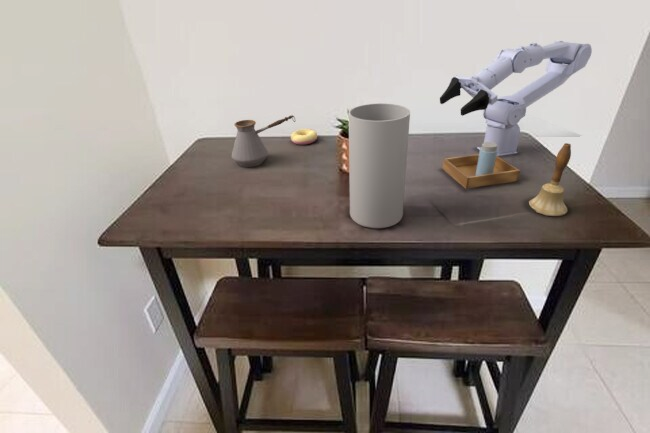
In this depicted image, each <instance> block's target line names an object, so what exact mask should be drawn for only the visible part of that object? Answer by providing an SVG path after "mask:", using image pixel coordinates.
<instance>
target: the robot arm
mask: <svg viewBox="0 0 650 433" xmlns="http://www.w3.org/2000/svg"><path fill="white" fill-rule="evenodd" d="M592 49H593V48H592V45H591V44H590V43H580V42H579V43H578V42H569V41H563V40H558V41H554V42H552V43H549V44H546V45H543V46H542V45H541V44H538V43H537V42H530V43H529V45H527V46H523V45H519V46H517V48H515V49H514V48H505V49H501V50H500V51H499V52H498V54H497V56H496V57H495V59H494V60H492V62H491V63H490V64H489V65H487V66H486V67H484V68H483V69H482V70H481V71H479V72H477V73H476V74H472V75H471V77H468V76H459V75H455V76H453V77H452V78H451V80H450V82H449V84H448V86H447V88H446V90H445V91H444V92H443V93H442V95H441V96H440V97H439V104H441V105H444V104H446V103H447V102H449V101H450V100H451V99H454V98H456V97H460V96H461V89H462V90H464V91H465V92H466V93H467V94H468V95H469V96H470V97H472V98H471V99H470V100H469V101H468V102H467V103H466V104H464V105H463V106H462V107H461V108H460V116H462V117H463V116H466V115H468V114H470V113H473V112H477V111H482V116H483V118H484V119H485V123H486V127H485V128H486V129H485V134H484V139H483V143H484V142H493V143H496V144H497V150H498V151H497V156H498V157H500V156H505V155H506V156H507V155H514V154H518V153H519V152H518V151H517V149H518V146H519V141H520V136H521V128H520V126H519V124H518V123H519V122H520V121H521V120H522V119H523V118H524V117H526V113H527V108H528V107H530V106H531V105H533V104H534V103H536V102H537V101H539V100H540V99H541V98H543V97H545V96H547V95H548V94H550V93H551V92H553V91H554V90H556V89H558V88H559V87H561V86H562V85H564V84H565V83H566V82H567V80H569V79H570V77H572V75H575V74H576V73H578V72H579V71H581V70H583V69H584V68H585V67H586V65H587V64H588V62H589V60H590V58H591V56H592V51H593V50H592ZM543 60H547V63H546V66H545V71H546V73H545V74H543V75H542V76H540V77H538V78H537V79H534V81H532V82H531V83H529V84H528V85H526V86H524V87H522V88H521V89H519V90H517V91H516V92H514V93H513V94H511V95H502V96H499V97H498V94H496V93H495V92H493V91H492V90H493V89H494V88H495V87H496V86H498V85H499V84H500V83H502V82H504V81H505V80H506V79H507V78H508V77H510V76H511V75H512V74H522V73H523V72H524V71H525V70H526V69H528V68H531V67H532V68H533V67H536V66H538V65H540V64H541V63H542V62H543ZM480 148H481V147H480V146H477V147H476V149H478V150H479V151H480Z"/></svg>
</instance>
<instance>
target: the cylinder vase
mask: <svg viewBox="0 0 650 433" xmlns="http://www.w3.org/2000/svg"><path fill="white" fill-rule="evenodd" d="M410 119H411V111H410V109H409V108H408V107H406V106H403V105H399V104H394V103H367V104H361V105H358V106H354V107H351V109H349V111H348V170H349V171H348V172H349V176H348V177H349V178H348V179H349V180H348V182H349V216H350V218H351V219H352V221H353V222H354V223H356V224H357V225H359V226H361V227H365V228H369V229H386V228H390V227H392V226H395V225H397V224H398V223H400V221H401V220H402V218H403V216H404V205H405V192H406V191H405V189H406V176H407V162H408V150H409V148H408V147H409V134H410V133H409V132H410Z"/></svg>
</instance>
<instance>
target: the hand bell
mask: <svg viewBox="0 0 650 433" xmlns="http://www.w3.org/2000/svg"><path fill="white" fill-rule="evenodd" d="M571 156H572V145H571V143H563V146H562V147H561V148H560V149H559V151H558V152H557V154H556V158H555V161H554V162H555V164H554V165H555V169H554V172H553V175H552V178H551V180H550V183H549V182H548V183H544V184H543V185H542V186H541V189H540V191H539V192H538V194H537V195H536V196H535V197H533V198H531V199H530V200H529V201H528V203H529V206H530V208H532V209H533V212H535V213H538V214H540V215H543V216H547V217H562V216H565V215H566V214H567V213H568V207H567V206H566V204H565V202H564V193H565V188H564V187H563V186H562V185H560V182H561V179H562V176H563V172H564V171H565V169H566V168H567V166H568V164H569V162H570V160H571Z"/></svg>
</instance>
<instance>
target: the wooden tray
mask: <svg viewBox="0 0 650 433" xmlns="http://www.w3.org/2000/svg"><path fill="white" fill-rule="evenodd" d="M478 157H479V153H475V154H469V155H461V156H454V157H448V158H447V157H446V158H443V159H442V160H443V161H442V170H443V171H444V172H446V174H448V175H449V176H450V177H451V178H453V179H454V180H455V181H456V182H457V183H459V185H461V186H462V187H463V188H464V189H472V188H478V187H486V186H493V185H498V184H506V183H512V182H518V181H519V178H520V173H521V169H520V168H518V167H516V166H514V165H512V164H511V163H510V162H508V161H506V160H505V159H503V158H501V157H500V156H496V161H495V166H494V171H493V173H492V174H485V175H478V176H476V168H477V163H478Z"/></svg>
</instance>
